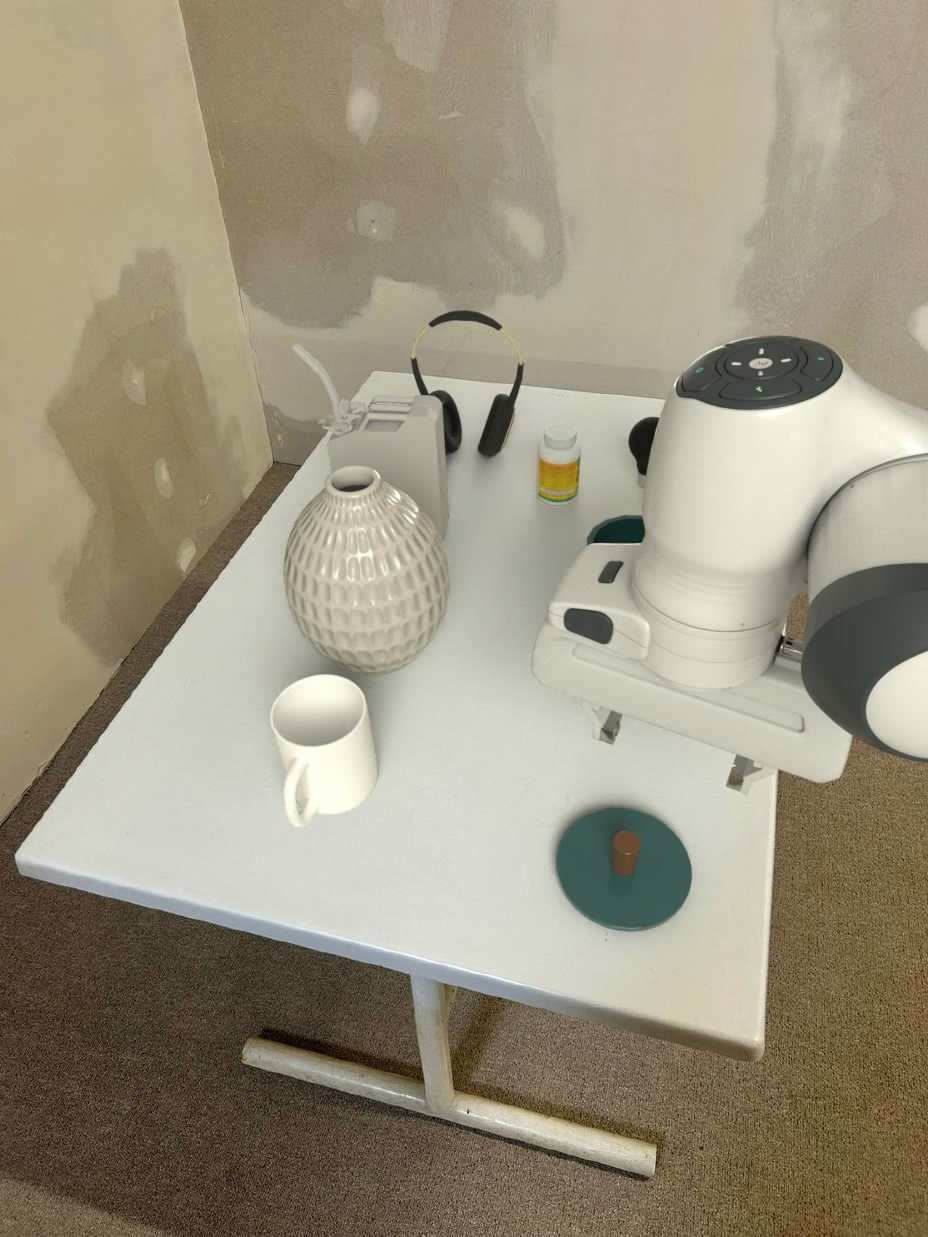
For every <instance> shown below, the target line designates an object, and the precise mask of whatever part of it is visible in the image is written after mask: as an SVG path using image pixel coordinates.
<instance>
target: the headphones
mask: <svg viewBox="0 0 928 1237" xmlns="http://www.w3.org/2000/svg"><path fill="white" fill-rule="evenodd" d="M452 321H453V322H454V321H459V322H473V323H479V324H482V325H486V326H488V327H491V328H493V329H495V330H496V331H499V332H500V333H502V334H503V335H504V336H505V337H506V338H507V339H508V341H510V343H511V344H512V346H513V348H514V349H515V352H516V354H517V357H518V363H517V369H516V376H515V378H514V383H513V386H512V388H511V390H510V392H509V395H507V394H505V393H498V394H496V395H495V396H494V399H493V400H492V403H491V407H490V409H489V412H488V415H487V417H486V418H487V419H486V421H485V424H484V427H483V430H482V432H481V436H480V439H479V442H478V445H477V452H478V453H479V454H480V455H481V456H483V457H486V458H492V457H493V456H494V457H495V456H496V455H497V454H498V453H499V454H500V453H501V452H502V450H503V449H504V448H505V445H506V444H507V442H508V439H509V436H510V433H511V430H512V427H513V424H514V421H515V417H516V408H515V404H516V401H517V399H518V396H519V393H520V389H521V386H522V382H523V377H524V366H525V363H524V359H523V355H522V352H521V349H520V347H519V345H518V343H517V342H516V340H515V339H514V338H513V336H512V335H511V334H510V333H509V332H508V331H507V330H506V329H505V328H504V327H503V325H502V324H500V323H499V322H498V321H497V320H495V319H494V318H492V317H490V316H488V315H486V314H484V313H481V312H479V311H474V310H468V309H462V310H460V309H459V310H451V311H449V312H446V313H443V314H440V315H438V316H437V317H435V318H434V319H432V320H431V321H430V322H428V324H427V325H426V326H425V327H424V328H423V329H422V330H421V331H420V333H419V334H418V335H417V336H416V338H415V340H414V342H413V345H412V347H411V355H410V363H411V370H412V374H413V378H414V381H415V384H416V386H417V389H418V392H419V395H428V396H435V397H437V398H438V399H439V400H440V401H441V403H442V409H443V425H444V441H445V455H449V454H454V453H455V452H457V451H458V450H459V448H460V447H461V445H462V440H463V427H462V419H461V416H460V413H459V409H458V407H457V403H456V402H455V399H454V398H453V397H452V395H451V394H450V393H449V392H448V391H446V390H442V389H438V390H433V391H432V392H430V393H429V391H428V388H427V386H426V384H425V381H424V380H423V377H422V375H421V371H420V369H419V368H420V367H419V365H418V364H419V363H418V359H417V356H416V350H417V347H418V343H419V341H420V340H421V338H422V337H423V336H424V335H425V333H426V332H428V330H430V329H431V328H434V327H436V326H439V325H441V324H443V323H447V322H452Z"/></svg>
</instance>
